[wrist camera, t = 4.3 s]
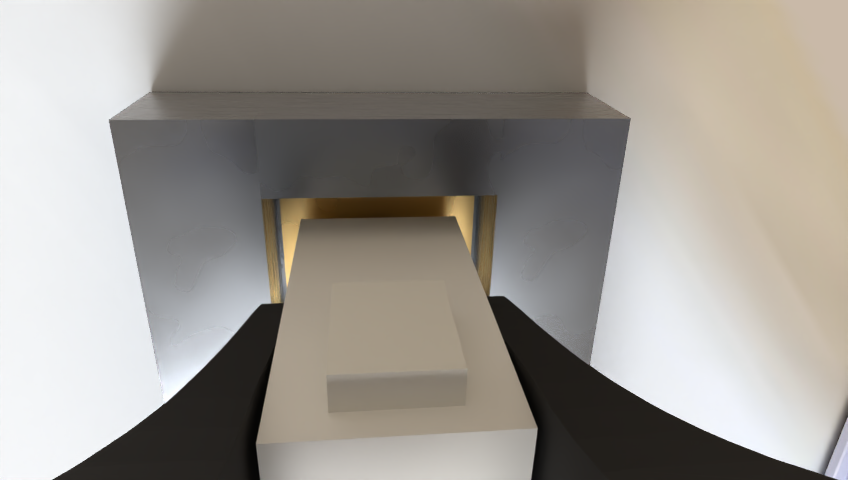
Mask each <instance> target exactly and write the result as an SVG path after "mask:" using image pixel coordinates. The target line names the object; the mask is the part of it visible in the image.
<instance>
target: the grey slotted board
mask: <svg viewBox="0 0 848 480" xmlns="http://www.w3.org/2000/svg"><path fill="white" fill-rule="evenodd" d="M630 119H631V118H629V117H627V116H625V115H624V114H622V113H620V112H619V111H617V110H615V109H614V108H612V107H610V106H609V105H607V104H605V103H604V102H602V101H600V100H599V99H597V98H595V97H593V96H592V95H590V94H588V93H298V92H149V93H148V94H146V95H145V96H143V97H142V98H140V99H139V100H137V101H136V102H135V103H133V104H132V105H130V106H129V107H127V108H126V109H124V110H123V111H121V112H120V113H118V114H117V115H115V116H114V117H112V118H111V119H109V123H110V128H111V133H112V138H113V143H114V148H115V153H116V159H117V164H118V169H119V174H120V179H121V184H122V189H123V194H124V199H125V205H126V210H127V215H128V220H129V225H130V230H131V235H132V240H133V245H134V251H135V256H136V261H137V266H138V271H139V276H140V281H141V286H142V291H143V297H144V302H145V307H146V312H147V317H148V322H149V327H150V332H151V337H152V343H153V348H154V353H155V358H156V363H157V368H158V373H159V378H160V383H161V388H162V394H163V399H164V404H165V403H166V402H167V401H168V400H169V399H171V398H172V397H173V396H174V395H175V394H176V393H177V392H178V391H179V390H180V389H182V388H183V387H184V386H185V385H186V384H187V383H188V382H189V381H190V380H191V379H192V378H193V377H194V376H195V375H196V374H197V373H198V372H199V371H201V370H202V369H203V368H204V367H205V366H206V364H207V363H208V362H209V361H210V360H211V359H212V358H213V357H214V356H215V355H216V354H217V353H218V352H219V351H220V350H221V349H222V347H223V346H224V345H225V344H226V343H227V342H228V341H229V340H230V339H231V338H232V336H233V335H234V334H235V333H236V332H237V331H238V330H239V328H240V327H241V326H242V325H243V324H244V323H245V321H246V320H247V319H248V318H249V317H250V316H251V314H252V313H253V312H254V311H255V310H256V309H257V308H258V307H259V306H260V305H261V304H271V303H284V301H285V296H286V291H287V286H288V281H289V276H290V271H291V266H292V261H293V256H294V251H295V246H296V241H297V236H298V231H299V226H300V221H301V219H335V218H387V217H439V216H455V217H456V219H457V222H458V224H459V227H460V230H461V232H462V235H463V237H464V240H465V242H466V245H467V248H468V250H469V253H470V255H471V258H472V260H473V263H474V266H475V268H476V271H477V273H478V276H479V278H480V281H481V284H482V286H483V289H484V291H485V294H486V296H505V297H506V298H507V299H509V300H510V301H511V302H512V303H513V304H515V305H516V306H517V307H518V308H519V309H520V310H521V311H523V312H524V313H525V314H526V315H527V316H528V317H530V318H531V319H532V320H533V321H534V322H535V323H536V324H538V325H539V326H540V327H541V328H542V329H544V330H545V331H546V332H547V333H548V334H549V335H551V336H552V337H553V338H554V339H556V340H557V341H558V342H559V343H561V344H562V345H563V346H564V347H566V348H567V349H568V350H569V351H571V352H572V353H573V354H575V355H576V356H577V357H579V358H580V359H581V360H583V361H584V362H586V363H587V364H588V365H590V359H591V353H592V347H593V341H594V335H595V329H596V323H597V317H598V311H599V305H600V299H601V293H602V287H603V281H604V275H605V269H606V263H607V257H608V251H609V245H610V239H611V233H612V227H613V221H614V215H615V209H616V203H617V197H618V191H619V185H620V179H621V173H622V167H623V161H624V155H625V149H626V143H627V137H628V131H629V125H630Z"/></svg>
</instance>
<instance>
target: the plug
mask: <svg viewBox="0 0 848 480" xmlns="http://www.w3.org/2000/svg"><path fill="white" fill-rule="evenodd" d="M537 430H538V428H537V425H536V423H535V420H534V417H533V415H532V412H531V410H530V407H529V405H528V402H527V399H526V397H525V394H524V392H523V389H522V387H521V384H520V381H519V379H518V376H517V374H516V371H515V369H514V366H513V363H512V361H511V358H510V356H509V353H508V351H507V348H506V345H505V343H504V340H503V338H502V335H501V333H500V330H499V327H498V325H497V322H496V320H495V317H494V314H493V312H492V309H491V307H490V304H489V302H488V299H487V296H486V294H485V291H484V289H483V286H482V284H481V281H480V278H479V276H478V273H477V271H476V268H475V266H474V263H473V260H472V258H471V255H470V253H469V250H468V248H467V245H466V242H465V240H464V237H463V235H462V232H461V230H460V227H459V224H458V222H457V219H456V217H455V216H439V217H387V218H335V219H301V221H300V226H299V231H298V236H297V241H296V246H295V251H294V256H293V261H292V266H291V271H290V276H289V281H288V286H287V291H286V296H285V301H284V306H283V311H282V316H281V321H280V326H279V331H278V336H277V341H276V346H275V351H274V356H273V361H272V366H271V371H270V376H269V381H268V386H267V391H266V396H265V401H264V406H263V411H262V416H261V421H260V426H259V431H258V436H257V441H256V449H257V458H258V466H259V474H260V480H531V477H532V469H533V461H534V453H535V446H536V438H537Z"/></svg>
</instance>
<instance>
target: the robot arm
mask: <svg viewBox="0 0 848 480" xmlns="http://www.w3.org/2000/svg"><path fill="white" fill-rule="evenodd" d="M487 299H488V302H489V304H490V307H491V309H492V312H493V314H494V317H495V320H496V322H497V325H498V327H499V330H500V333H501V335H502V338H503V340H504V343H505V345H506V348H507V351H508V353H509V356H510V358H511V361H512V363H513V366H514V369H515V371H516V374H517V376H518V379H519V381H520V384H521V387H522V389H523V392H524V394H525V397H526V399H527V402H528V405H529V407H530V410H531V412H532V415H533V417H534V420H535V423H536V425H537V428H538V430H537V438H536V446H535V453H534V461H533V469H532V477H531V480H848V417H847V420H846V422H845V425H844V427H843V430H842V432H841V435H840V437H839V440H838V442H837V445H836V447H835V450H834V452H833V455H832V457H831V460H830V462H829V465H828V467H827V470H826V472H825V475H822V474H819V473H816V472H813V471H810V470H807V469H804V468H800V467H797V466H794V465H791V464H788V463H785V462H782V461H779V460H776V459H773V458H770V457H768V456H765V455H762V454H760V453H757V452H755V451H752V450H750V449H747V448H745V447H742V446H739V445H737V444H734V443H732V442H729V441H727V440H725V439H722V438H720V437H718V436H715V435H713V434H711V433H708V432H706V431H704V430H702V429H700V428H698V427H695V426H693V425H691V424H689V423H687V422H685V421H683V420H681V419H679V418H677V417H675V416H673V415H671V414H669V413H667V412H665V411H663V410H661V409H659V408H657V407H656V406H654V405H652V404H650V403H648V402H646V401H645V400H643V399H641V398H640V397H638V396H636V395H635V394H633V393H631V392H630V391H628V390H626V389H624V388H623V387H621V386H619V385H618V384H616V383H615V382H613V381H612V380H610V379H609V378H607V377H605V376H604V375H603V374H601V373H600V372H598V371H597V370H595V369H594V368H593V367H591V366H590V365H588V364H587V363H586V362H584V361H583V360H581V359H580V358H579V357H577V356H576V355H575V354H573V353H572V352H571V351H569V350H568V349H567V348H566V347H564V346H563V345H562V344H561V343H559V342H558V341H557V340H556V339H554V338H553V337H552V336H551V335H549V334H548V333H547V332H546V331H545V330H544V329H542V328H541V327H540V326H539V325H538V324H536V323H535V322H534V321H533V320H532V319H531V318H530V317H528V316H527V315H526V314H525V313H524V312H523V311H521V310H520V309H519V308H518V307H517V306H516V305H515V304H513V303H512V302H511V301H510V300H509V299H507V298H506V297H505V296H487ZM283 306H284V303H271V304H261V305H260V306H259V307H258V308H257V309H256V310H255V311H254V312H253V313H252V314H251V316H250V317H249V318H248V319H247V320H246V321H245V323H244V324H243V325H242V326H241V327H240V328H239V330H238V331H237V332H236V333H235V334H234V335H233V336H232V338H231V339H230V340H229V341H228V342H227V343H226V344H225V345H224V346H223V347H222V349H221V350H220V351H219V352H218V353H217V354H216V355H215V356H214V357H213V358H212V359H211V360H210V361H209V362H208V363H207V364H206V366H205V367H204V368H203V369H202V370H201V371H199V372H198V373H197V374H196V375H195V376H194V377H193V378H192V379H191V380H190V381H189V382H188V383H187V384H186V385H185V386H184V387H183V388H182V389H180V390H179V391H178V392H177V393H176V394H175V395H174V396H173V397H172V398H171V399H169V400H168V401H167V402H166V403H165V404H163V405H162V406H161V407H160V408H159V409H157V410H156V411H155V412H153V413H152V414H151V415H149V416H148V417H147V418H146V419H144V420H143V421H142V422H140V423H139V424H138V425H136V426H135V427H134V428H132V429H131V430H130V431H128V432H127V433H125V434H124V435H122V436H121V437H119V438H118V439H116V440H115V441H113V442H112V443H110V444H109V445H107V446H106V447H104V448H103V449H101V450H100V451H98V452H97V453H95V454H94V455H92V456H91V457H89V458H88V459H86V460H85V461H83V462H82V463H80V464H78V465H77V466H75V467H73V468H72V469H70V470H68V471H67V472H65V473H63V474H61V475H60V476H58V477H56V478H55V479H53V480H260V474H259V466H258V458H257V449H256V441H257V436H258V431H259V426H260V421H261V416H262V411H263V406H264V401H265V396H266V391H267V386H268V381H269V376H270V371H271V366H272V361H273V356H274V351H275V346H276V341H277V336H278V331H279V326H280V321H281V316H282V311H283Z"/></svg>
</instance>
